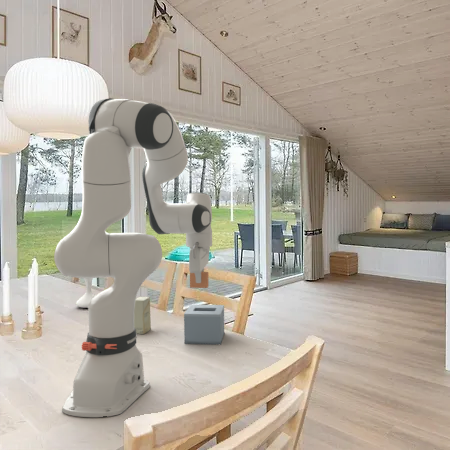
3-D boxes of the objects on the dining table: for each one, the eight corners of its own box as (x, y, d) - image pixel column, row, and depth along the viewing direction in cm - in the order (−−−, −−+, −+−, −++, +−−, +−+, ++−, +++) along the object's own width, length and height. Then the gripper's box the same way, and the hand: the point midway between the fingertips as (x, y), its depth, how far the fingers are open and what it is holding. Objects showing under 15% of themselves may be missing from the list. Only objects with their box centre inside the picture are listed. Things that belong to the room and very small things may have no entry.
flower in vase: (81, 303, 191) (80, 250, 190) (105, 303, 190) (104, 250, 189) (70, 310, 178) (68, 253, 177) (95, 310, 177) (94, 253, 176)
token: (207, 288, 137) (207, 273, 137) (189, 287, 138) (189, 273, 137) (208, 286, 140) (208, 271, 139) (191, 286, 140) (191, 271, 140)
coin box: (220, 344, 133) (220, 314, 133) (184, 343, 134) (184, 313, 134) (224, 332, 145) (224, 305, 145) (191, 332, 146) (190, 304, 146)
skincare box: (144, 334, 144) (143, 300, 144) (132, 333, 145) (131, 300, 145) (151, 329, 151) (150, 296, 150) (139, 328, 152) (139, 296, 151)
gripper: (203, 244, 127) (204, 288, 128) (212, 237, 147) (212, 275, 148) (183, 244, 127) (184, 288, 128) (194, 237, 148) (195, 275, 149)
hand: (199, 281), depth 138 cm, fingers closed on token, 2 cm apart
